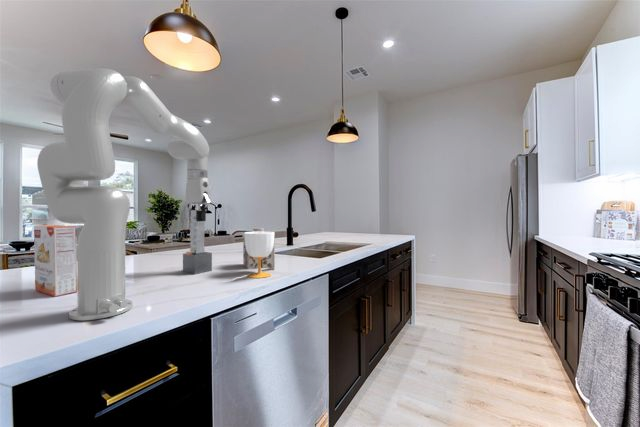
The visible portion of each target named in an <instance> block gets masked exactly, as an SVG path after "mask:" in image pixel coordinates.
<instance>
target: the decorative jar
mask: <svg viewBox="0 0 640 427" xmlns="http://www.w3.org/2000/svg"><path fill="white" fill-rule="evenodd" d="M257 231H265V229H264V227H253V230H252V232H257ZM275 242H276V241H275V239H274V245H273V249H272V251H271V253H270V255H269V256H267V257H265V258H263V259H262V260H261V272H263V271H271V270H272V271H274V270H275V264H276V263H275V262H276V258H275V257H276V254H275V252H276V251H275V247H276V246H275V244H276V243H275ZM242 244H243V253H242V256H243V260H242V261H243V265H244V266H245V267H246V268H247V269H248V270H252V269H253V270H254V269H258V260H257V259H255V258H253V257H251V256H250V255H249V254H248V253H247V251H246V247H245V240H244V239H243V243H242ZM263 268H265V269H263Z"/></svg>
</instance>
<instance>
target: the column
mask: <svg viewBox="0 0 640 427" xmlns="http://www.w3.org/2000/svg"><path fill="white" fill-rule="evenodd" d="M198 211H199V209H196V210H191V217H190V219H191V221H190V223H189V226H190V229H189V232H190V235H189V238H190V242H189V245H190V248H189V252H192V254H193V255H198V254H204V252H205V221H198Z"/></svg>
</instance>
